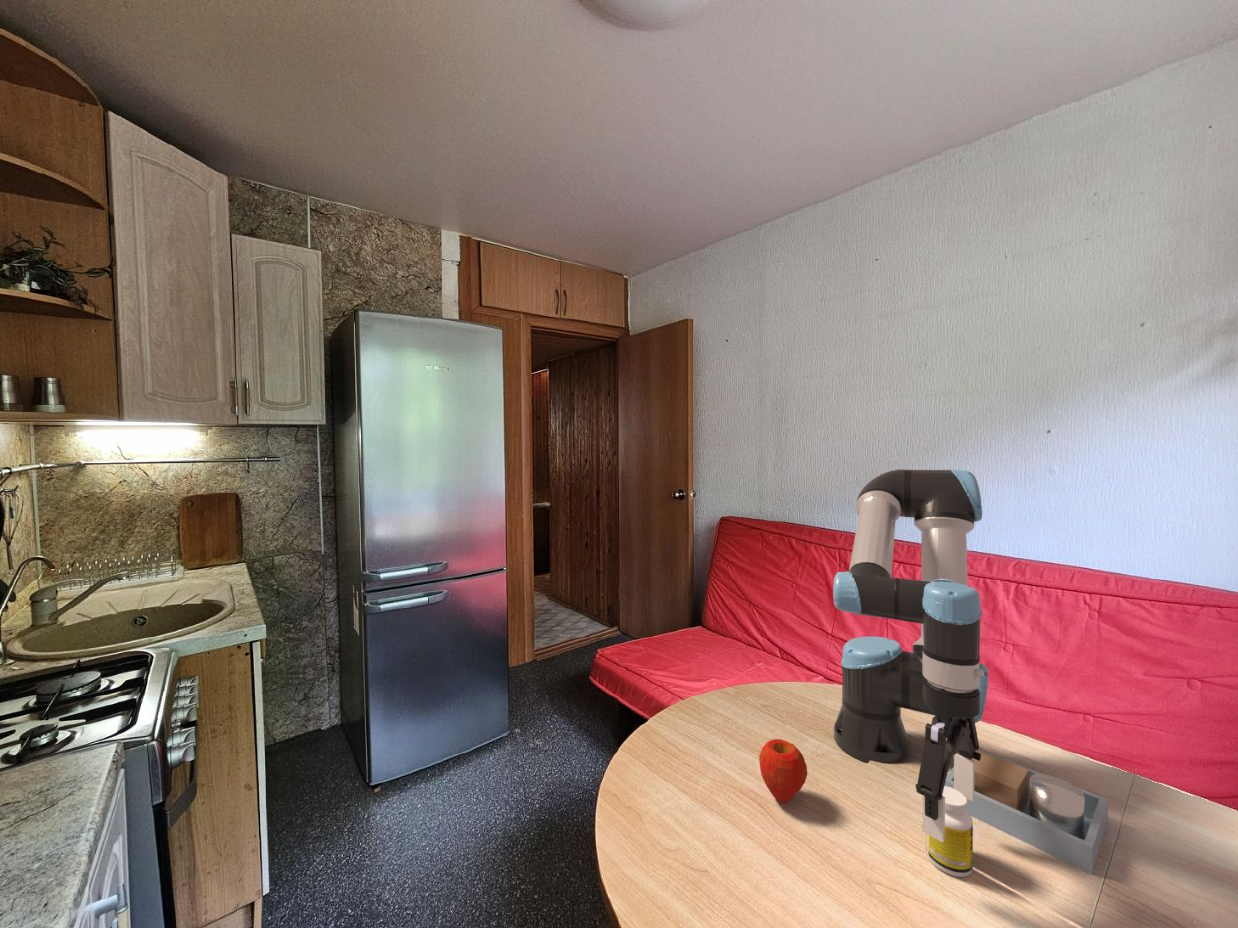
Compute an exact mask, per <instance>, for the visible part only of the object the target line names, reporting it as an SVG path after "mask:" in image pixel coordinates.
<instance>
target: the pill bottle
mask: <svg viewBox="0 0 1238 928" xmlns="http://www.w3.org/2000/svg"><path fill="white" fill-rule="evenodd" d="M942 795H943V796H944V797H945V840H944V842H941V841H939V840H937V839H935V838H933V837H931V836H930V835H928V834H926V833H925V835H926V836H925V838H926V839H925V841H926V842H925V843H926V844H925V845H926V846H925V848H926V849H925V850H926V856H927V858H928V859H929V861H930V862H931V863H932V865H933V866H934V867H936V868H937V869H938V870H939V871H941V872H942V873H945V874H948V875H950V876H953V877H957V878H958V877H959V878H965V877H968V876H970V875H971V874H972V871H973V865H974V864H973V862H974V861H973V860H974V859H973V857H974V851H973V850H974V849H973V848H974V821H973V817H972V816H971V815H970V814H969V812H968V811H967V799H966V797H965V796H964V795H963V794H962V793H960V792H959V791H957V790H955V789H953V788H951V787H947V786H944V790H943V794H942Z"/></svg>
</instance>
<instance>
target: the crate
mask: <svg viewBox="0 0 1238 928" xmlns="http://www.w3.org/2000/svg"><path fill="white" fill-rule="evenodd" d="M978 750H979V751H982V752H984V753H987V754H989V755H992V756H994V757H997V758H1000V759H1002V760H1005V761H1007V762H1010V763H1012V764H1015V765H1017V766H1020V767H1022V768H1025V769H1027V770H1029V789H1028V803H1027V805H1026V807H1025V809H1024V811H1023V812H1020V811H1018V810H1016V809H1014V808H1011V807H1009V806H1007V805H1005V804H1002V803H1000V802H998V801H996V800H994V799H991V798H989V797H987V796H985V795H983V794H980V793H978V792H976V791H974V800H973V801H971V800H969V799H967V811H968V812H969V814H970V815H971V817H972V818H974V819H977V820H978V821H981V822H982V823H985V824H987V825H988V826H990V827H993V828H994V829H997V830H998V831H1001V832H1003V833H1005V834H1007V835H1009V836H1011V837H1013V838H1016V839H1018V840H1020V841H1021V842H1023V843H1025V844H1027V845H1030V846H1032V847H1034V848H1036V849H1038V850H1040V851H1042V852H1044V853H1046V854H1048V855H1051V856H1052V857H1054V858H1057V859H1059V860H1060V861H1063V862H1065V864H1066V863H1067V864H1069V865H1070V866H1073V867H1075V868H1077V869H1079V870H1081V871H1083V872H1085V873H1087V874H1089V875H1093V873H1094V869H1095V866H1096V862H1097V859H1098V857H1099V853H1100V849H1101V846H1102V843H1103V839H1104V836H1105V833H1106V830H1107V826H1108V825H1109V824H1108V821H1109V820H1108V819H1109V799H1108V798H1105V797H1103V796H1100V795H1098V794H1095V793H1092V792H1090V791H1088V790H1085V789H1083V788H1080V787H1077V786H1076V787H1077V788H1078V789H1080V790H1081V791H1082V793H1083V794H1084V797H1085V802H1084V840H1082V839H1080V838H1078V837H1076V836H1073V835H1071V834H1069V833H1067V832H1064V831H1062V830H1060V829H1058V828H1056V827H1053V826H1051V825H1049V824H1047V823H1045V822H1042V821H1040V820H1038V819H1036V818H1033V817H1031V816H1029V807H1030V777H1031V776H1032V775H1034V774H1043V773H1042V772H1039V771H1036V770H1034V769H1031V768H1030V767H1026V766H1024V765H1022V764H1019V763H1016V762H1013V761H1011V760H1008V759H1006V758H1003V757H1001V756H999V755H996V754H994V753H992V752H988V751H986V750H982V749H981V748H979V749H978ZM975 751H976V750H975ZM945 786H947V787H951V788H953V789H954V766H953V767H952V768H951V770H950V771H948V773H947V777H946V781H945Z"/></svg>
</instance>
